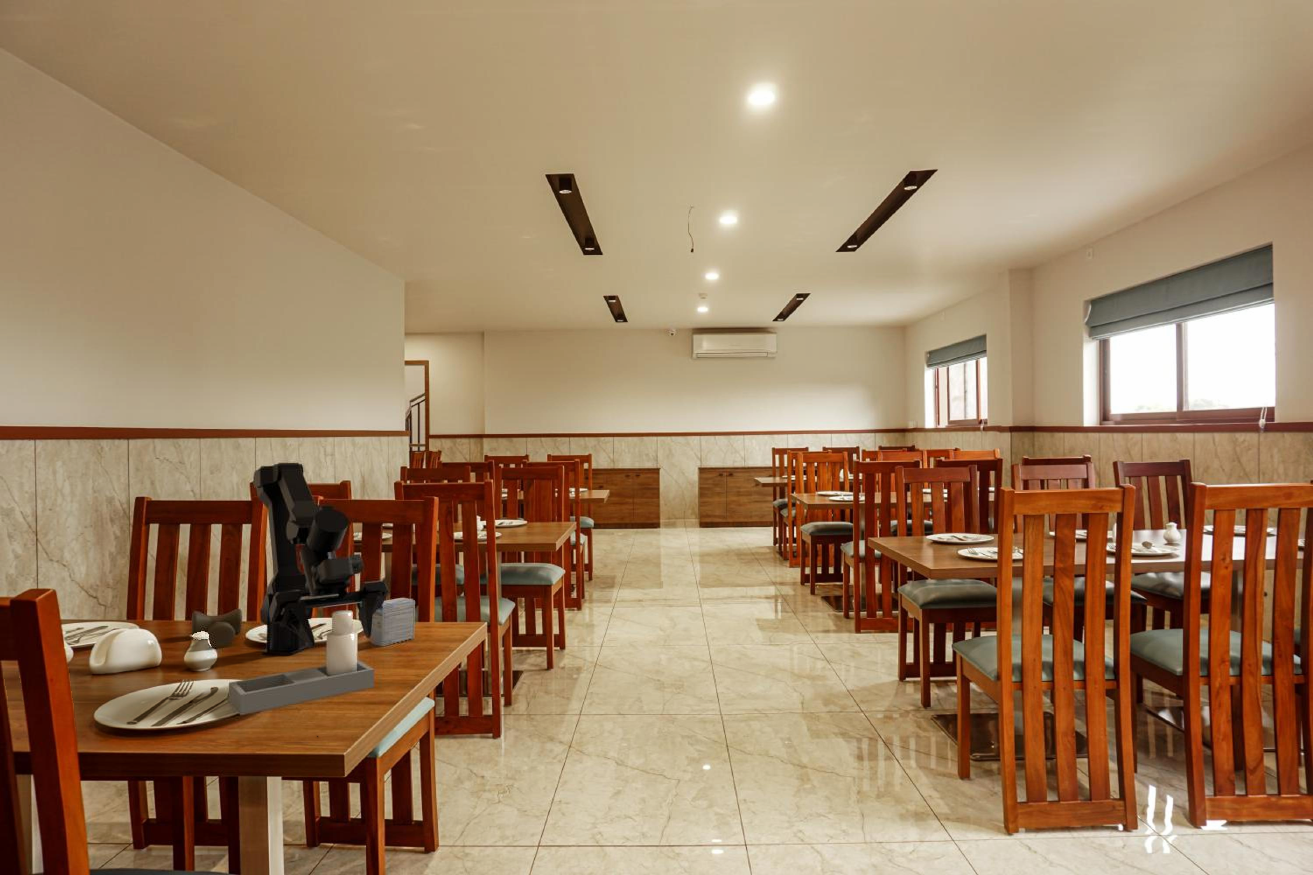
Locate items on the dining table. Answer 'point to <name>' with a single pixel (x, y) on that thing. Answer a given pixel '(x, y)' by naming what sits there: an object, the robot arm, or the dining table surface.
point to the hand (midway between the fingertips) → (341, 641)
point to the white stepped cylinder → (341, 645)
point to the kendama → (218, 627)
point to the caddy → (296, 688)
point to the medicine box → (393, 622)
